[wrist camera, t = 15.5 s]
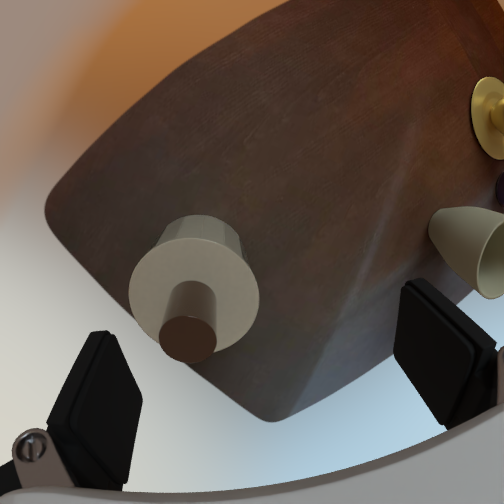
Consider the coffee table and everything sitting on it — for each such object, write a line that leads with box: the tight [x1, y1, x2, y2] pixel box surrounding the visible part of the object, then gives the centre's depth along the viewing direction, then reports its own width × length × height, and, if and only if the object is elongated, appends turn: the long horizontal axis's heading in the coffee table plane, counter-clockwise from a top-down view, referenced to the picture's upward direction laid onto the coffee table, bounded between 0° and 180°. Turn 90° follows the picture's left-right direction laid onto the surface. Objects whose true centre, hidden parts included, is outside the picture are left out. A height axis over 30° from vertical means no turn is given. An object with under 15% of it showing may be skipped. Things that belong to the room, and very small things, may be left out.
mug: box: [428, 207, 504, 299], centre depth 30 cm, size 11×10×12 cm
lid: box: [129, 236, 259, 363], centre depth 24 cm, size 11×11×7 cm
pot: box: [150, 215, 249, 265], centre depth 30 cm, size 10×10×8 cm
